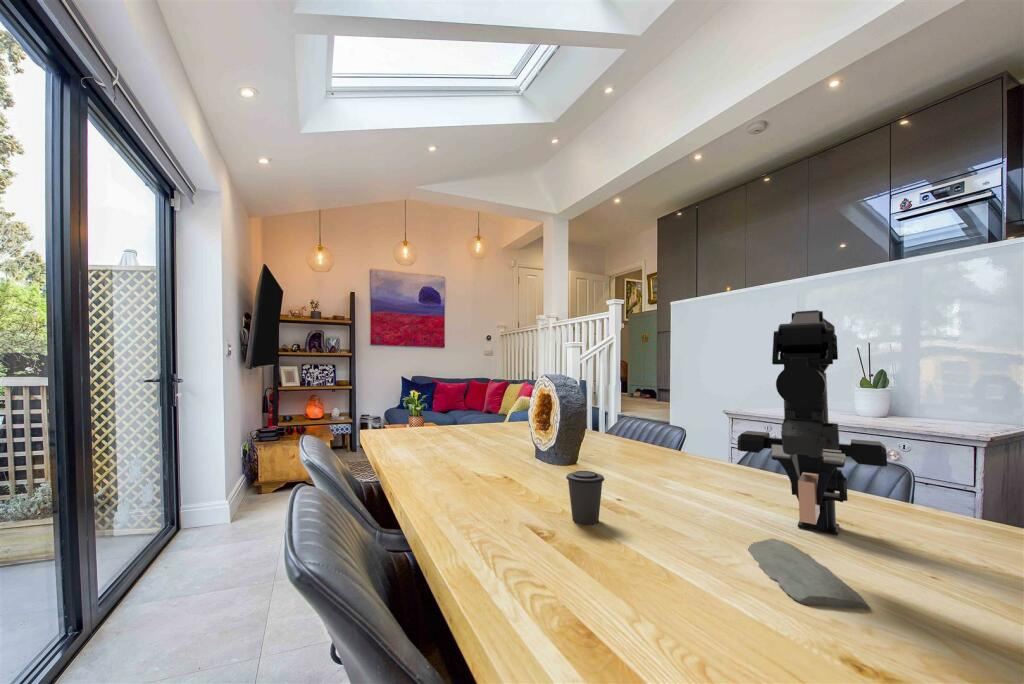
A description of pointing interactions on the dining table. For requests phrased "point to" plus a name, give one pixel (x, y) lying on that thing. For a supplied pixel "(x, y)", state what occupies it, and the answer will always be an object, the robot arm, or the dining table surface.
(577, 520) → the coffee cup
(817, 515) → the block
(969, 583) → the dining table surface
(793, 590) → the stone slab
